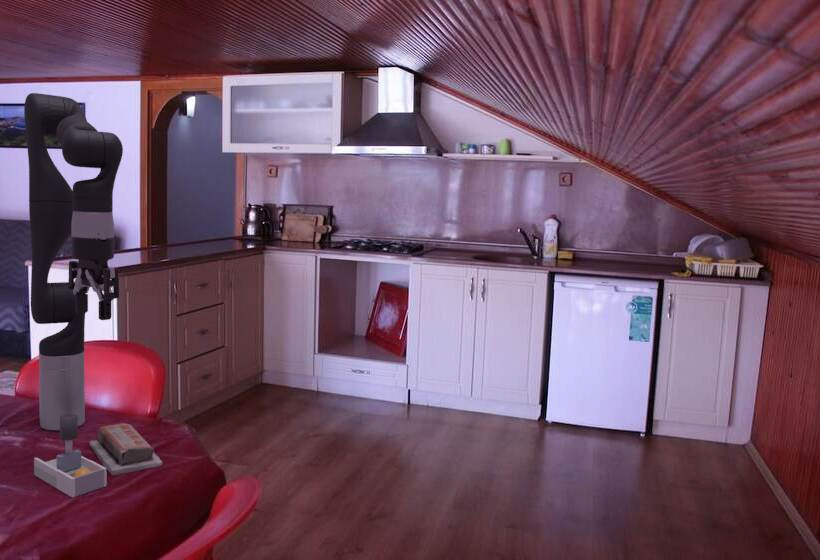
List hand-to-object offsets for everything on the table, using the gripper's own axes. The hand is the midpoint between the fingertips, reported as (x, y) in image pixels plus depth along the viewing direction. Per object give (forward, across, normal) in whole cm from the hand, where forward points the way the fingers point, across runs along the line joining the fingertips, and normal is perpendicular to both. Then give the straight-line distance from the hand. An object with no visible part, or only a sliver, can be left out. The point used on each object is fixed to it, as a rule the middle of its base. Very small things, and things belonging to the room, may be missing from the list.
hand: (93, 316), depth 131 cm
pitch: (+30, +3, -8) cm, 31 cm away
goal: (+30, +10, -8) cm, 33 cm away
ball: (+28, +10, -8) cm, 31 cm away
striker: (+28, +5, -8) cm, 29 cm away
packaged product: (+31, +2, +6) cm, 31 cm away
